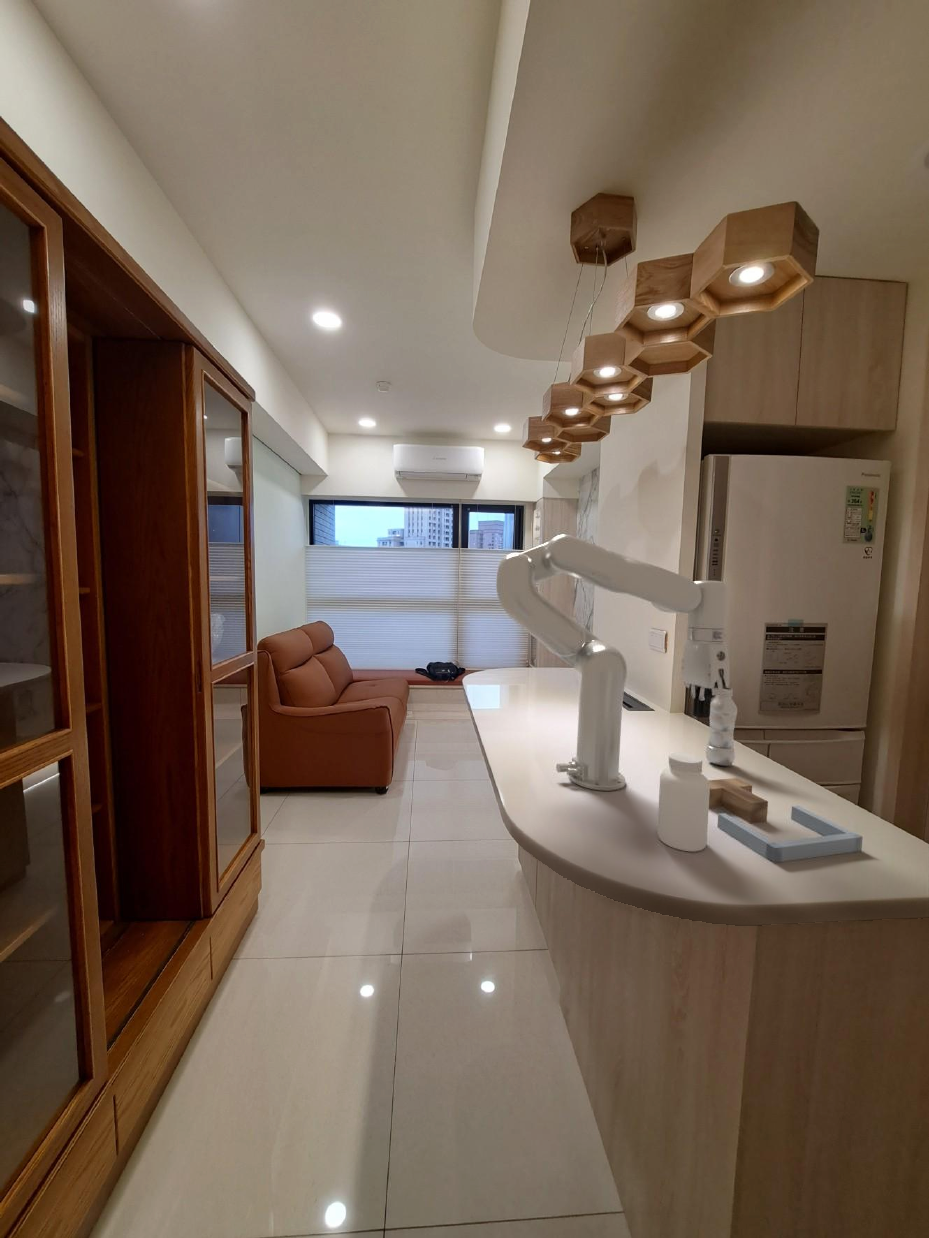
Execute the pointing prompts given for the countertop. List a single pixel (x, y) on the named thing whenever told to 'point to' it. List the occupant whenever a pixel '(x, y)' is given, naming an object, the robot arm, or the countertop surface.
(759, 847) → the frame
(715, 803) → the t block
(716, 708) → the plastic bottle
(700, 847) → the pill bottle
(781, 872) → the countertop surface
